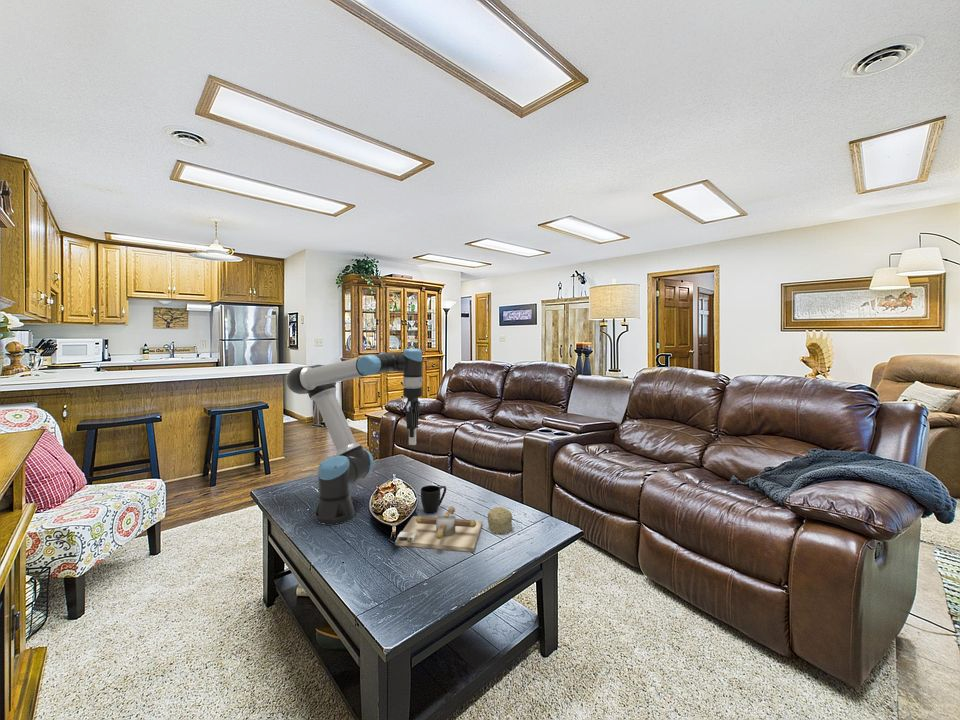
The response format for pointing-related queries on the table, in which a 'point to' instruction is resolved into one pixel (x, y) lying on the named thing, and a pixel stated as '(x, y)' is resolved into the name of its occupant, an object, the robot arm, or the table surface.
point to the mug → (431, 498)
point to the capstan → (445, 523)
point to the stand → (427, 539)
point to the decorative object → (499, 520)
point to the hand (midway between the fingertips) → (412, 444)
